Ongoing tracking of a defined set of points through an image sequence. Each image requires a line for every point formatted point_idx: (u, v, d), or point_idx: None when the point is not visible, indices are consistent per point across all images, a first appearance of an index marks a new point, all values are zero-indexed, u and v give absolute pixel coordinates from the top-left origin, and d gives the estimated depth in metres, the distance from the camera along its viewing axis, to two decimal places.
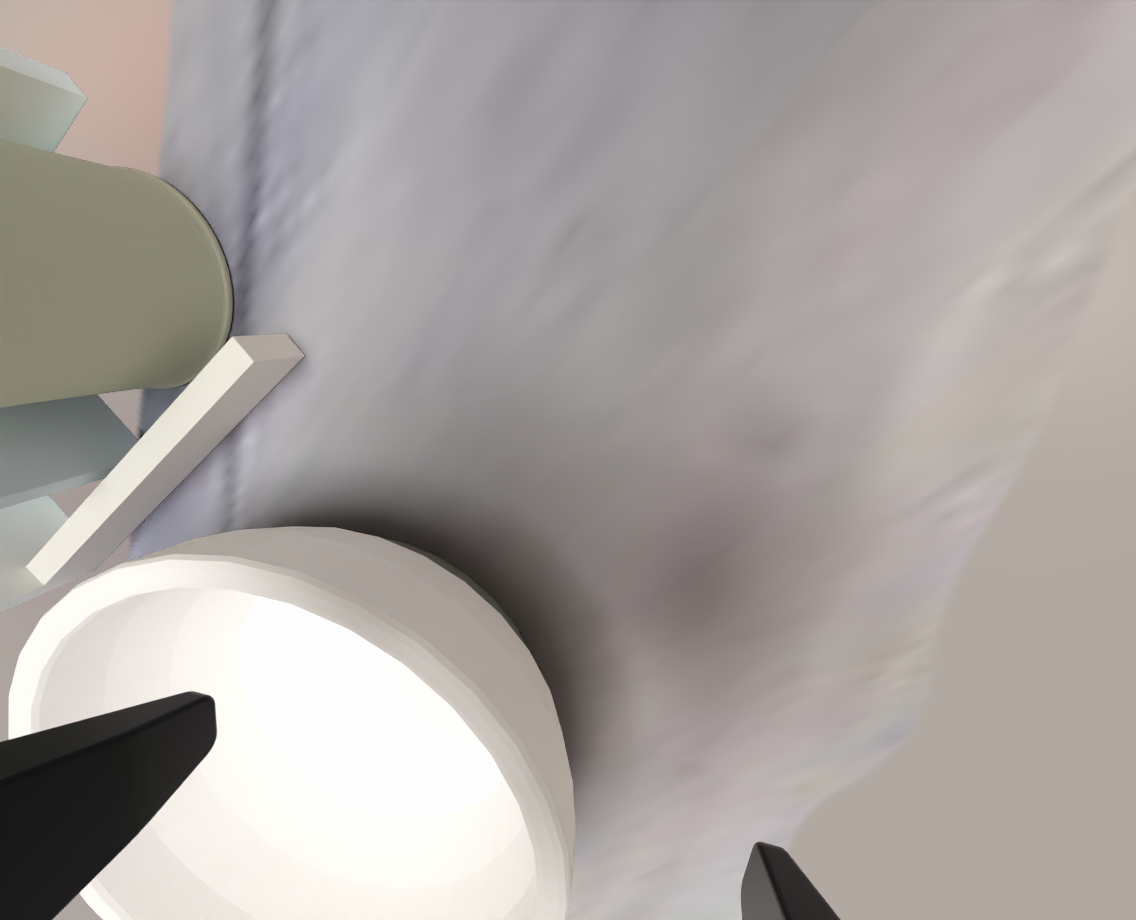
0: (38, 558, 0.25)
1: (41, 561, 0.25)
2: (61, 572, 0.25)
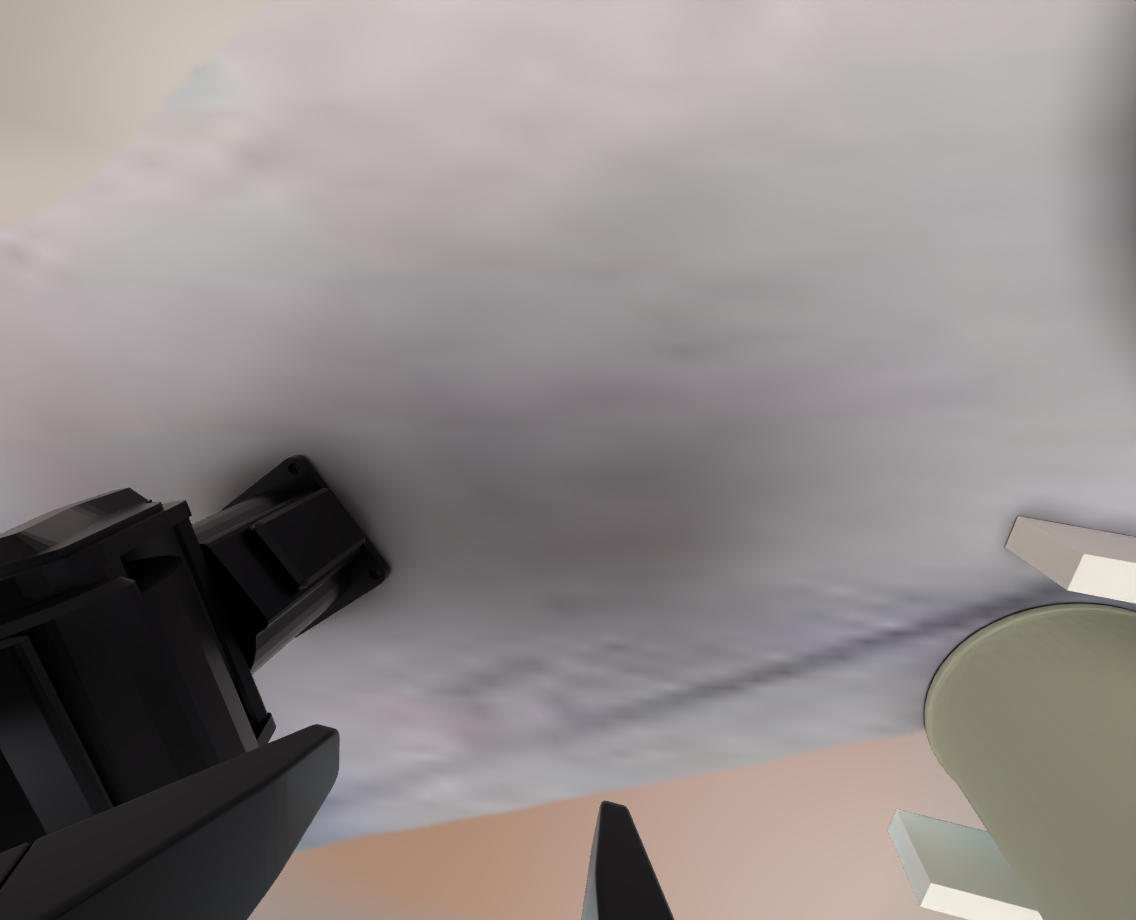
0: None
1: None
2: None
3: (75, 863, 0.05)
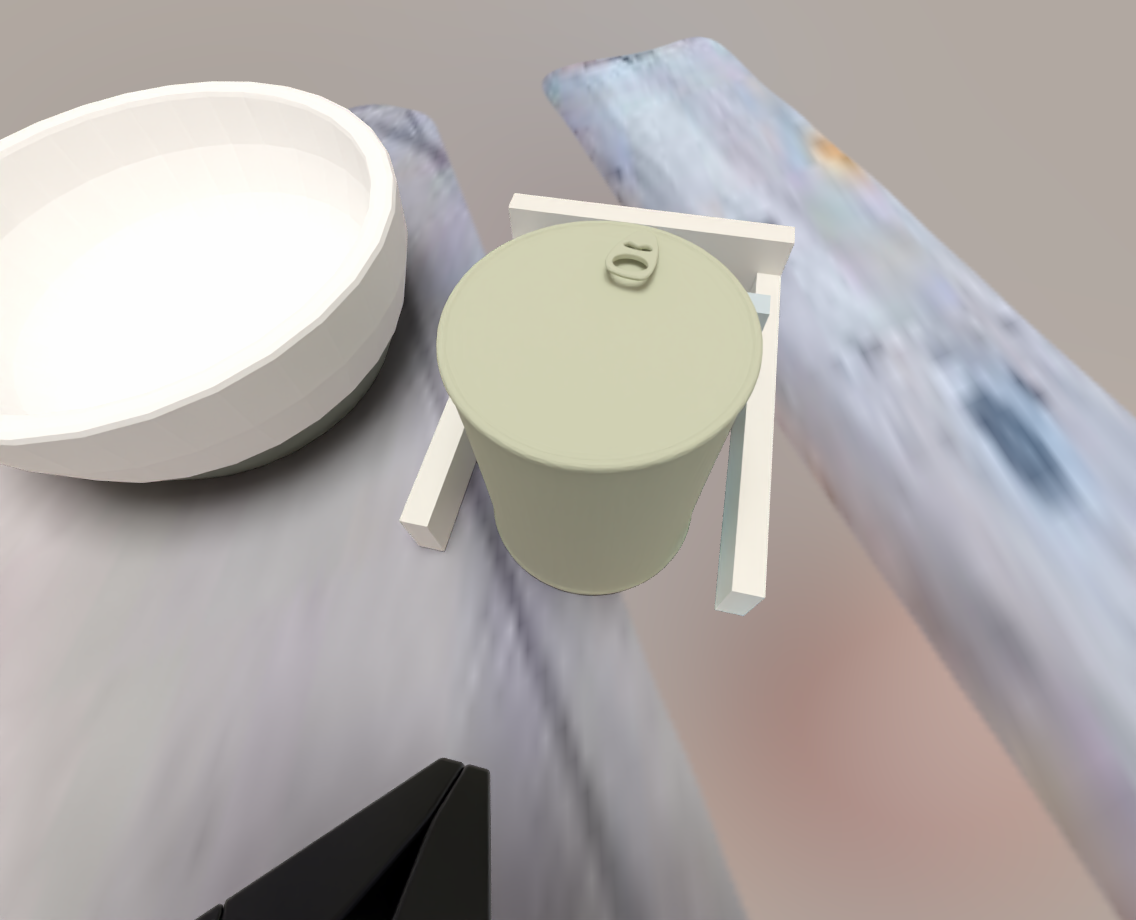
0: None
1: None
2: None
3: None
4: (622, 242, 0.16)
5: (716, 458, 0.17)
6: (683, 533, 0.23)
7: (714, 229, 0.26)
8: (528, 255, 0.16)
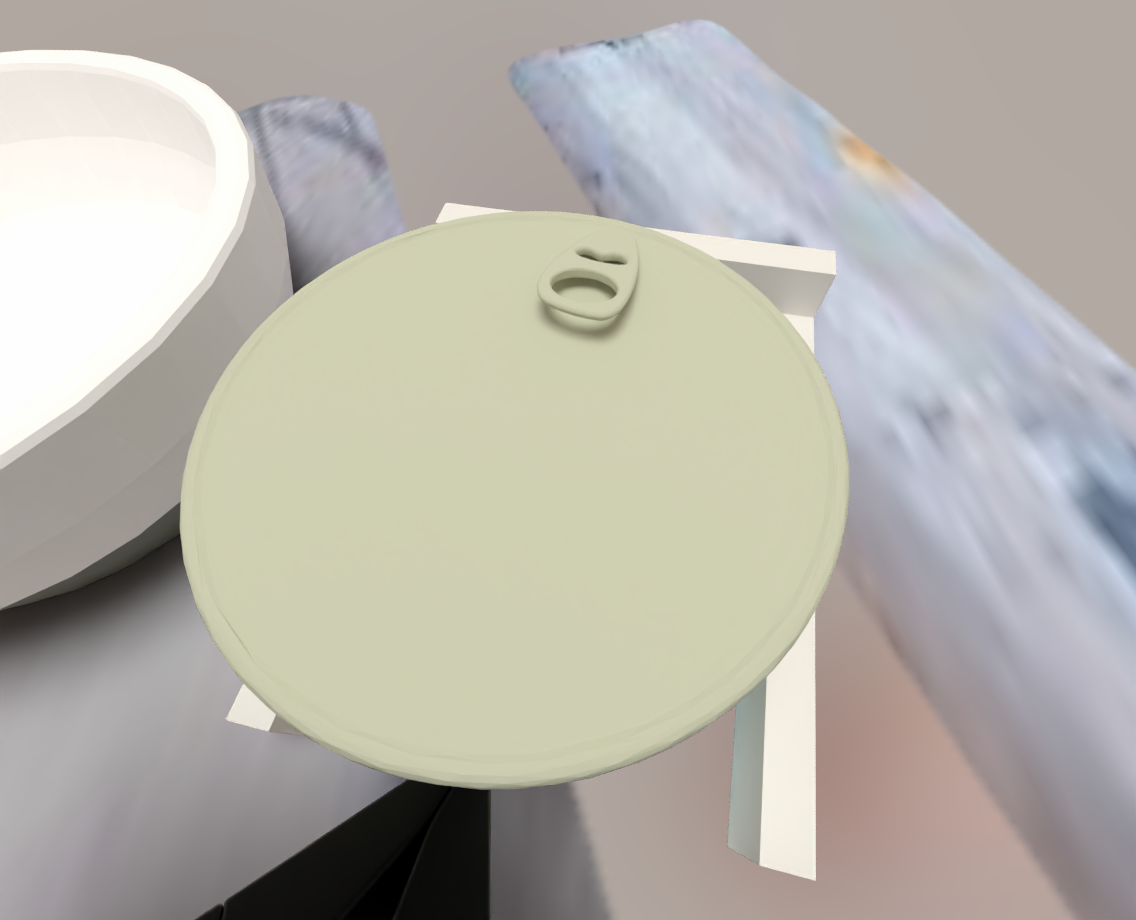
0: None
1: None
2: None
3: None
4: (573, 248, 0.09)
5: None
6: None
7: (721, 254, 0.19)
8: (405, 270, 0.09)
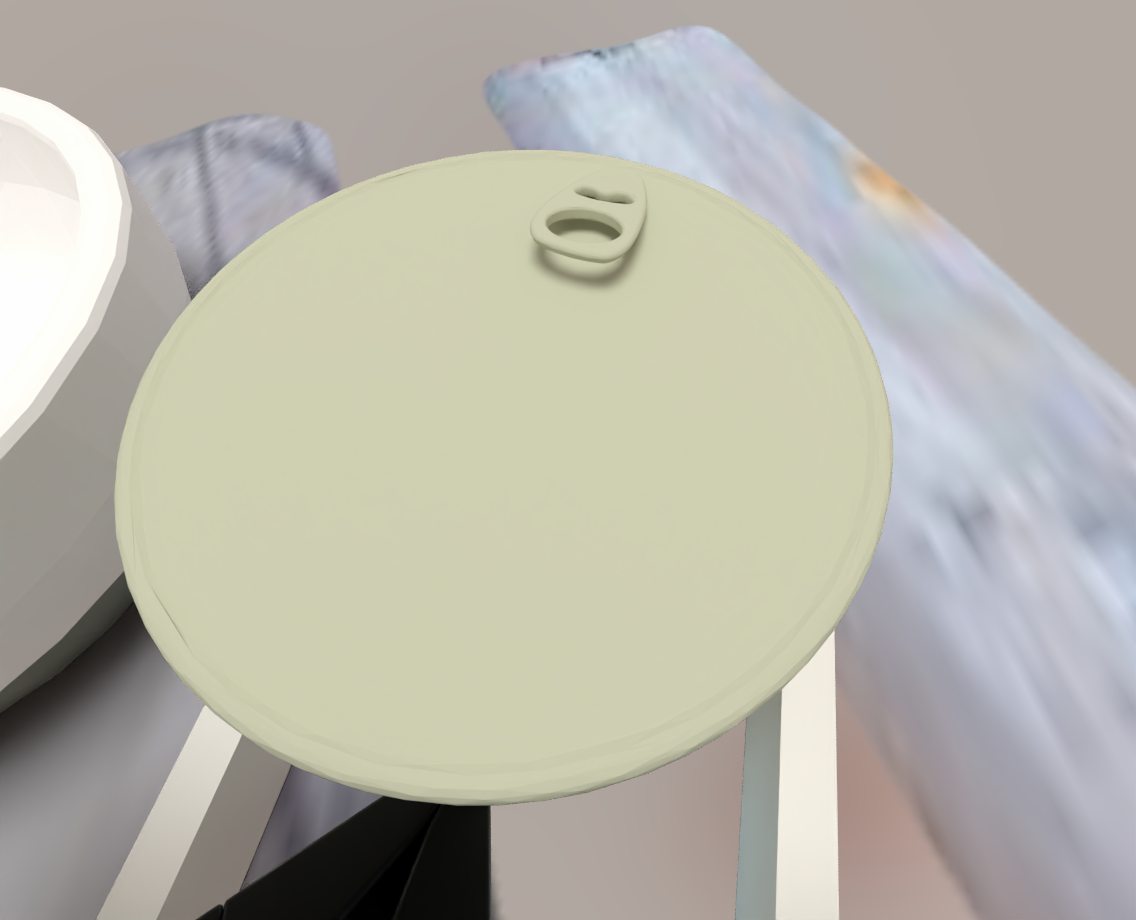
0: None
1: None
2: None
3: None
4: (572, 186, 0.08)
5: None
6: None
7: None
8: (383, 214, 0.08)
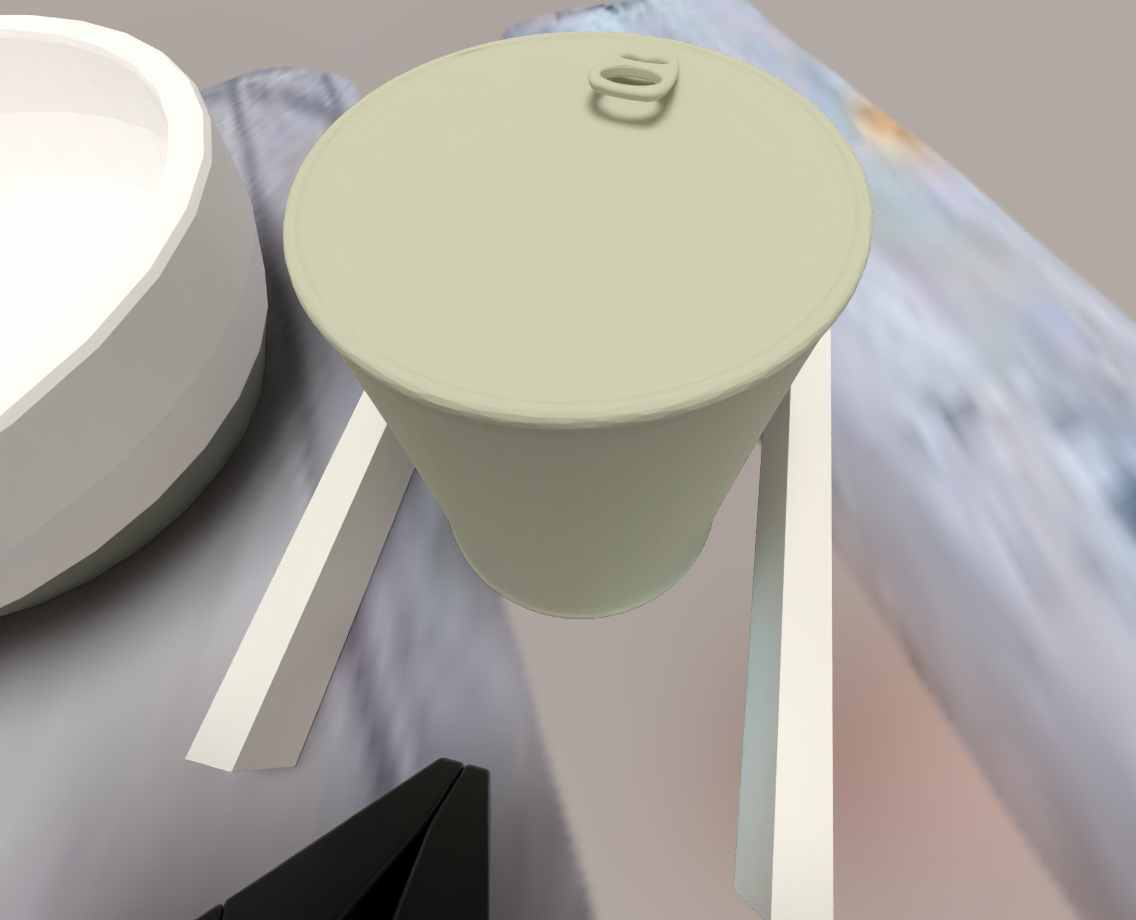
0: None
1: None
2: None
3: None
4: (618, 53, 0.10)
5: None
6: (705, 534, 0.16)
7: None
8: (462, 80, 0.10)
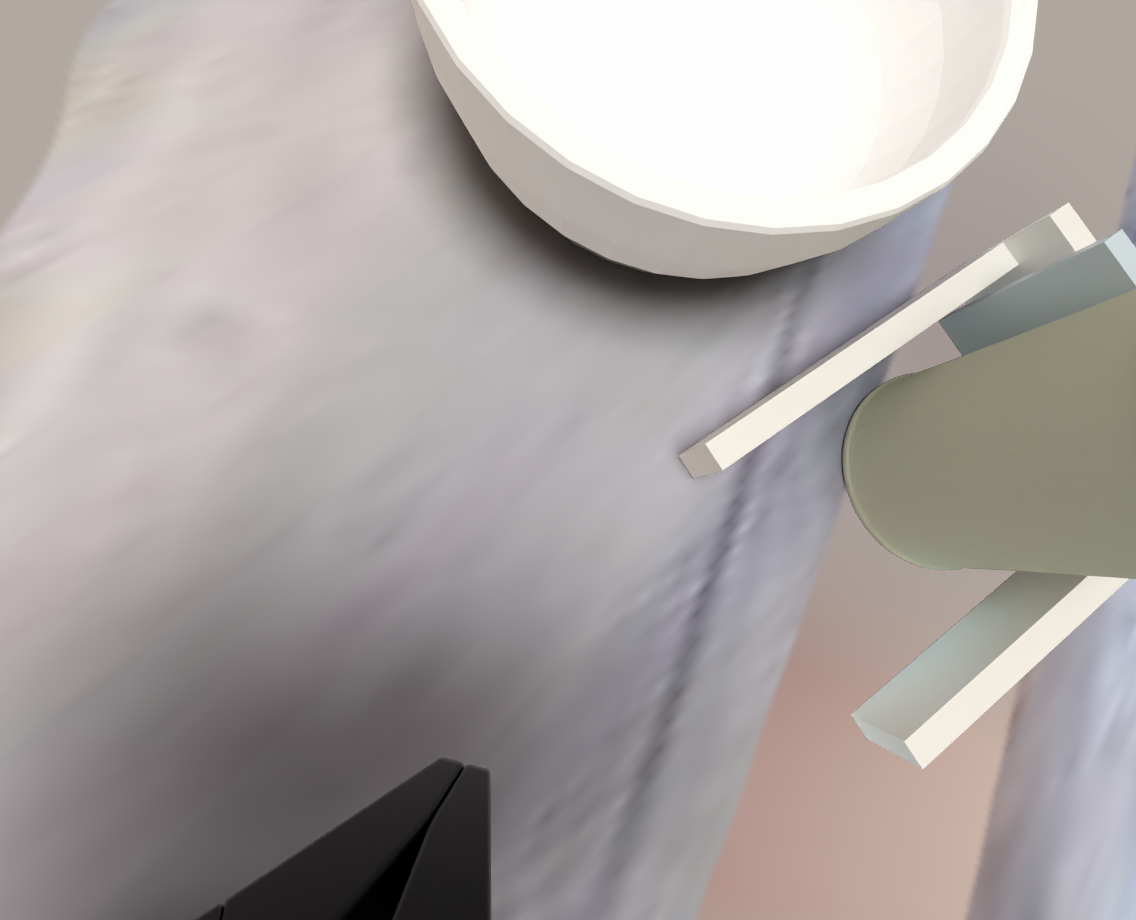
0: (1000, 271, 0.23)
1: (998, 267, 0.23)
2: (981, 255, 0.24)
3: None
4: None
5: None
6: None
7: None
8: None
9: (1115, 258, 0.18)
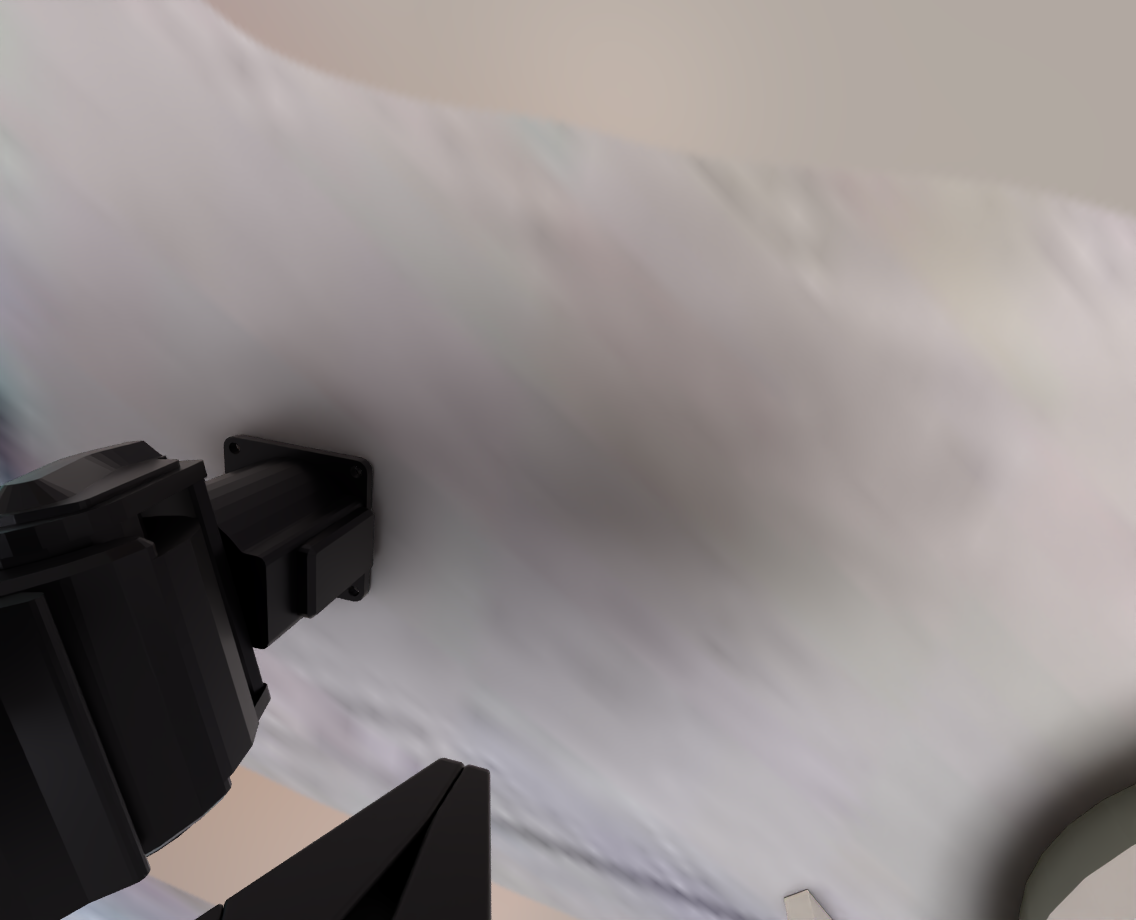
0: None
1: None
2: None
3: None
4: None
5: None
6: None
7: None
8: None
9: None
